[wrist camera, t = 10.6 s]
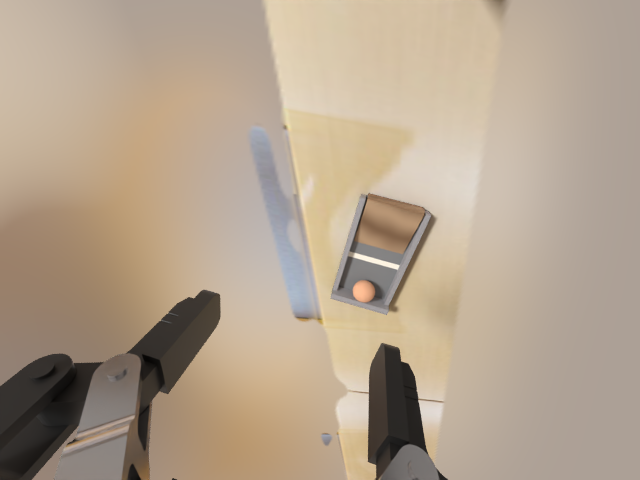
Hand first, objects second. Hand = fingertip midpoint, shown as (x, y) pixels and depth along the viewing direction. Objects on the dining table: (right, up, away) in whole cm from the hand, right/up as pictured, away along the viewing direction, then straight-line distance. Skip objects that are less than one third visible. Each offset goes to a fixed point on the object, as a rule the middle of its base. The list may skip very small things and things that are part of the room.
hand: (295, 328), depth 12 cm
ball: (+9, -5, +32) cm, 34 cm away
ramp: (+12, +7, +28) cm, 31 cm away
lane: (+11, +2, +31) cm, 33 cm away
